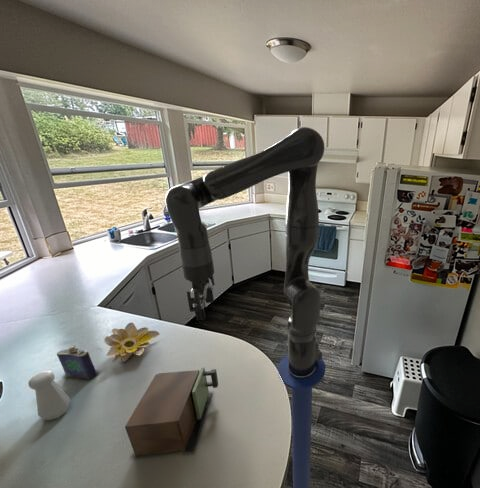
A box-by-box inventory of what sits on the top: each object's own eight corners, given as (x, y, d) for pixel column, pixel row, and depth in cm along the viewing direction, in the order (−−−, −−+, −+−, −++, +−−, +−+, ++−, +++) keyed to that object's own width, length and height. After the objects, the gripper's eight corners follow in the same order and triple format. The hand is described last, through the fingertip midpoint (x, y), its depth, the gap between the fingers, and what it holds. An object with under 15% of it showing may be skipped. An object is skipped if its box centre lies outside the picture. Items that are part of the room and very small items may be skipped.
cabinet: (211, 393, 73) (206, 368, 69) (193, 450, 59) (187, 421, 56) (163, 398, 71) (156, 372, 68) (134, 457, 57) (123, 428, 54)
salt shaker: (45, 428, 63) (25, 390, 58) (38, 415, 65) (18, 379, 61) (75, 409, 67) (59, 373, 63) (68, 398, 70) (52, 363, 66)
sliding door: (220, 392, 73) (216, 366, 69) (213, 418, 66) (208, 390, 62) (206, 393, 72) (201, 367, 69) (197, 419, 65) (191, 392, 62)
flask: (63, 376, 76) (51, 349, 73) (73, 369, 79) (62, 342, 75) (91, 379, 76) (81, 352, 72) (100, 371, 79) (91, 344, 75)
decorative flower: (135, 367, 78) (121, 340, 76) (102, 372, 79) (88, 346, 77) (165, 336, 93) (155, 313, 90) (138, 341, 94) (127, 318, 91)
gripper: (203, 271, 61) (212, 325, 67) (218, 249, 74) (224, 296, 80) (170, 272, 60) (182, 327, 65) (191, 250, 73) (200, 297, 79)
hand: (205, 310), depth 73 cm, fingers open, 8 cm apart
